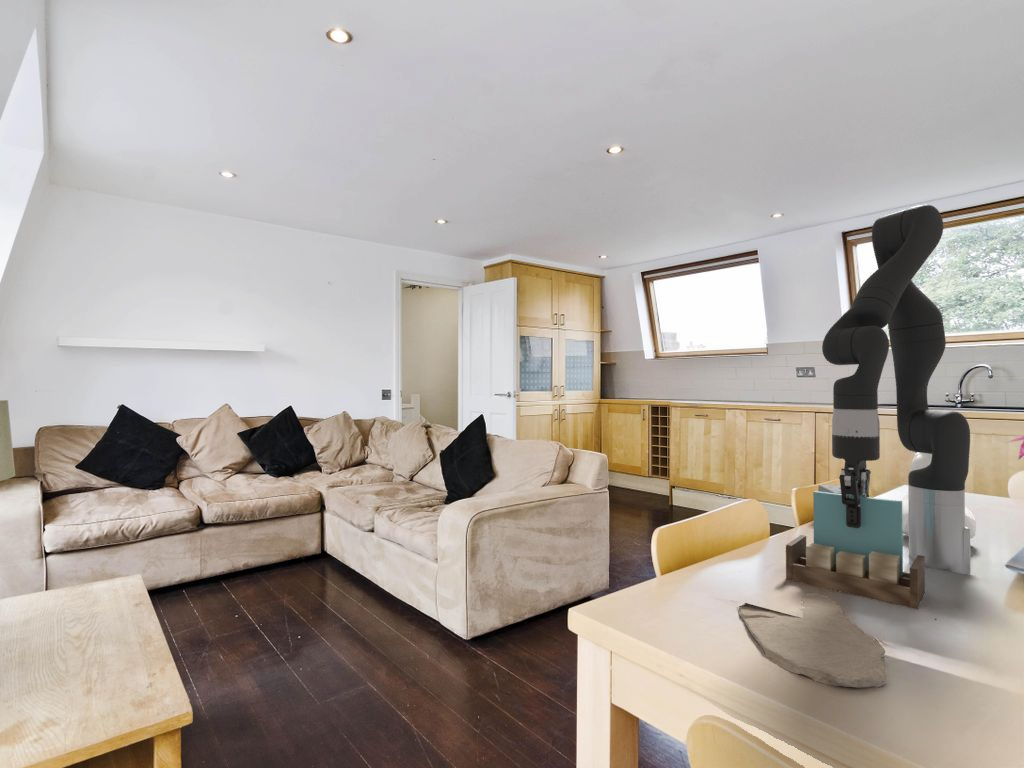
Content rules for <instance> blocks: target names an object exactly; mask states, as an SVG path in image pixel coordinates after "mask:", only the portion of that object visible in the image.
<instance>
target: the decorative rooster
mask: <svg viewBox="0 0 1024 768" xmlns="http://www.w3.org/2000/svg"><path fill="white" fill-rule="evenodd" d="M931 459H932V454H928V453H920V452H915V453H914V455H913V459H912V461H911V463H910V469H909V473H910V472H911V471H913V470H918V469H922V468H925V467H927V466H928V465H930V463H931ZM899 501H902V529H903V534H904V535H905V536H908V537H909V498H908V490H907V492H905V494H904V495H903V496H902V497H901V498H900V499H899ZM976 526H977V521H976V519H975V516H974V514H973V513H972V512H971V511H970V509H968V508H967V506H966V505H965V527H967V528H969V529H970V539H973V538H974V537H975V536H976V533H977V527H976Z"/></svg>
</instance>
